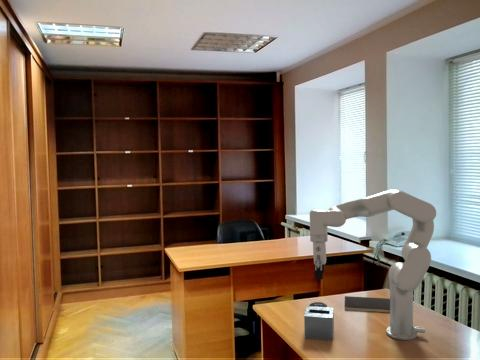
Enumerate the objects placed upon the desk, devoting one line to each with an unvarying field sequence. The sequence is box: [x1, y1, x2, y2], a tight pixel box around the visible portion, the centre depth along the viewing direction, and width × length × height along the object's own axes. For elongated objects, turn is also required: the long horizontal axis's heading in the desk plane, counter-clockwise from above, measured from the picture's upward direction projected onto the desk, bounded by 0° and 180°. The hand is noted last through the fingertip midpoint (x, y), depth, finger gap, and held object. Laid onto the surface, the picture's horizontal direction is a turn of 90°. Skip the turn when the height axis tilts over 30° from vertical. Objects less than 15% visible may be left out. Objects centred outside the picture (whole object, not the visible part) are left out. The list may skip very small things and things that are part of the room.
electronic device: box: [308, 301, 328, 307], centre depth 216 cm, size 9×6×15 cm
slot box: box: [303, 305, 335, 342], centre depth 190 cm, size 12×12×10 cm
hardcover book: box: [344, 295, 390, 313], centre depth 222 cm, size 16×23×2 cm
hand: (319, 275), depth 188 cm, fingers open, 9 cm apart
